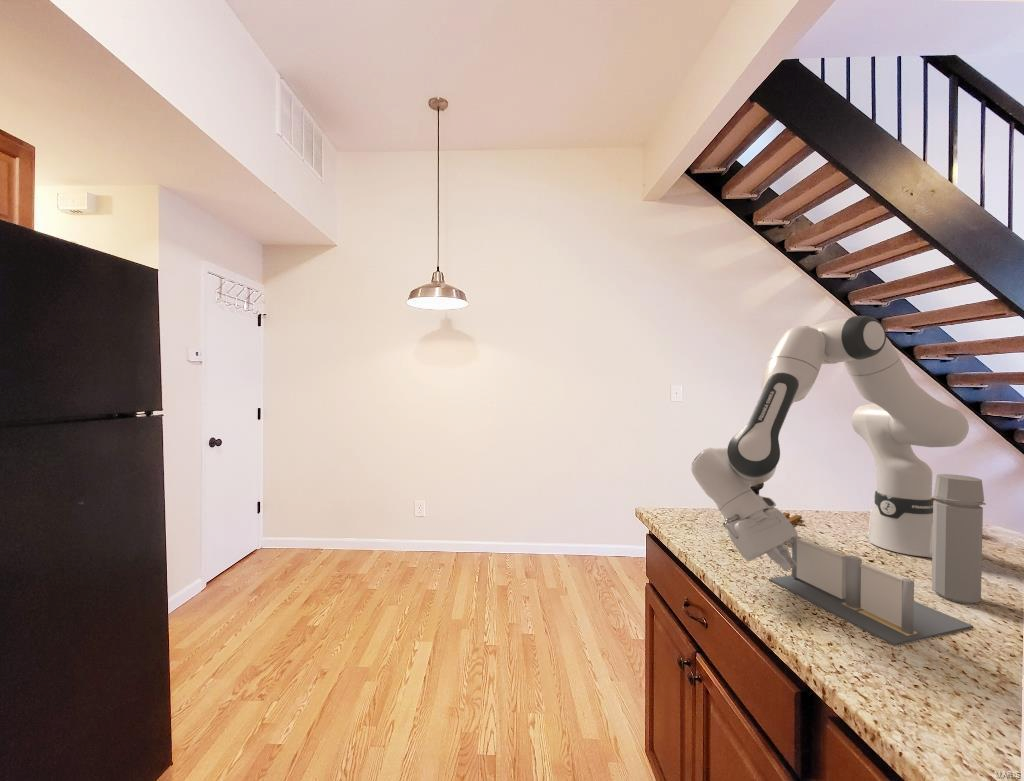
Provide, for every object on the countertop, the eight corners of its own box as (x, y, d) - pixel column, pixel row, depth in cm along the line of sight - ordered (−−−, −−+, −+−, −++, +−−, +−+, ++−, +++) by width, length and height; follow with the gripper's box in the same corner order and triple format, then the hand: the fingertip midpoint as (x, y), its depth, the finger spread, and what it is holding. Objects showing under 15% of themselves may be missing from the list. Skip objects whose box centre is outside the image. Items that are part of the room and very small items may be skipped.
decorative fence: (745, 533, 129) (783, 542, 121) (745, 526, 129) (783, 535, 121) (775, 516, 145) (810, 523, 138) (775, 510, 145) (810, 517, 138)
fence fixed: (851, 604, 86) (852, 554, 86) (917, 635, 75) (918, 579, 75) (842, 605, 86) (843, 556, 85) (907, 638, 75) (908, 581, 75)
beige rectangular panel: (795, 574, 98) (796, 536, 97) (846, 599, 87) (847, 555, 86) (790, 575, 97) (790, 537, 97) (840, 600, 86) (841, 556, 86)
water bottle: (986, 610, 84) (988, 483, 83) (930, 597, 89) (932, 477, 89) (980, 593, 91) (982, 475, 90) (928, 581, 96) (930, 470, 96)
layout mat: (835, 569, 102) (835, 567, 102) (973, 627, 78) (973, 624, 78) (768, 580, 97) (768, 578, 97) (894, 646, 72) (894, 643, 72)
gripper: (731, 512, 92) (781, 574, 84) (774, 497, 103) (821, 550, 96) (711, 527, 95) (757, 588, 87) (755, 511, 107) (799, 563, 99)
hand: (791, 568), depth 92 cm, fingers closed
